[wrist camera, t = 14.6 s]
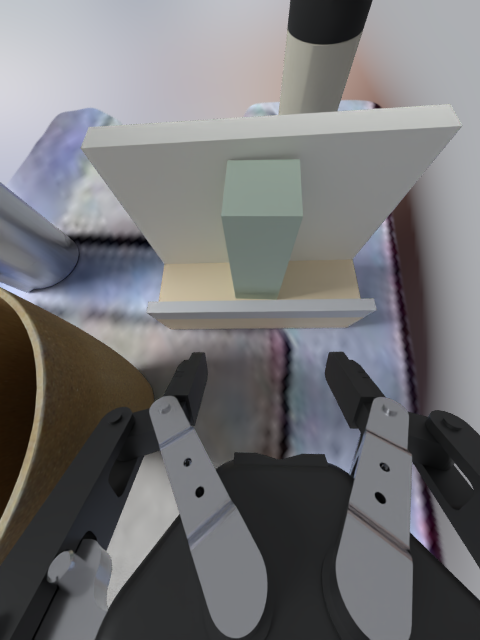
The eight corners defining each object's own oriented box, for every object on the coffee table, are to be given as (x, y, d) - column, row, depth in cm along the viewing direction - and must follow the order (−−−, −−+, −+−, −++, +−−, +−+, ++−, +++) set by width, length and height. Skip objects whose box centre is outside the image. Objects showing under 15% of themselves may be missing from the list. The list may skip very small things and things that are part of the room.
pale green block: (276, 299, 21) (303, 216, 10) (235, 298, 21) (221, 215, 11) (276, 264, 22) (299, 159, 12) (238, 263, 23) (227, 160, 12)
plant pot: (156, 321, 25) (12, 226, 10) (207, 433, 21) (90, 568, 6) (44, 381, 23) (-333, 377, 8) (75, 517, 19) (-613, 1041, 4)
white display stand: (346, 327, 24) (519, 227, 8) (170, 329, 25) (42, 242, 10) (335, 264, 26) (450, 104, 11) (178, 268, 27) (88, 127, 12)
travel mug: (280, 181, 32) (316, -53, 15) (268, 150, 34) (286, -80, 17) (327, 171, 32) (415, -72, 15) (311, 141, 34) (371, -96, 17)
